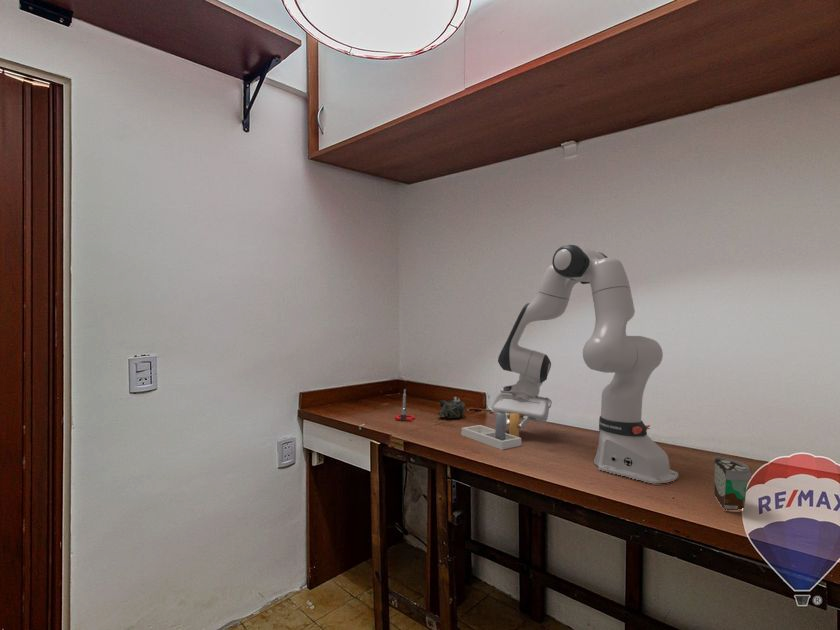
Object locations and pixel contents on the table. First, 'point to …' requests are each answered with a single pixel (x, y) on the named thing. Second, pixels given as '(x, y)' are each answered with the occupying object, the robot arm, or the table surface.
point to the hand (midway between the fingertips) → (513, 426)
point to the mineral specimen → (452, 408)
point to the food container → (730, 482)
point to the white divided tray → (490, 437)
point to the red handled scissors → (404, 411)
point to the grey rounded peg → (500, 426)
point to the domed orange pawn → (514, 424)
